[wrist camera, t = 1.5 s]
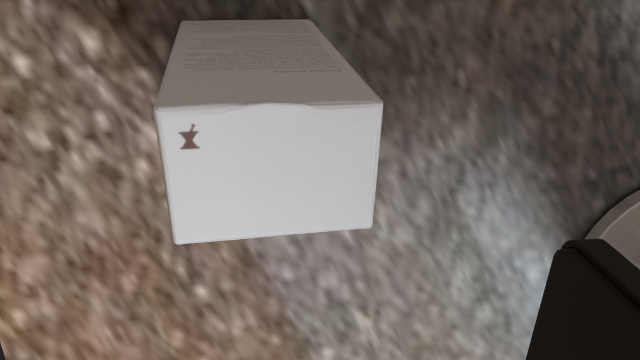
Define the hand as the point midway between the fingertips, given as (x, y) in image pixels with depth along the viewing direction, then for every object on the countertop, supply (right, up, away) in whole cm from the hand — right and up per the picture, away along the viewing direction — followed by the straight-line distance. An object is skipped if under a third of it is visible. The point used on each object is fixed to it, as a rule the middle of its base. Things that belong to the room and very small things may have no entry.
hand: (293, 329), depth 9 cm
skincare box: (-3, +8, +16) cm, 18 cm away
